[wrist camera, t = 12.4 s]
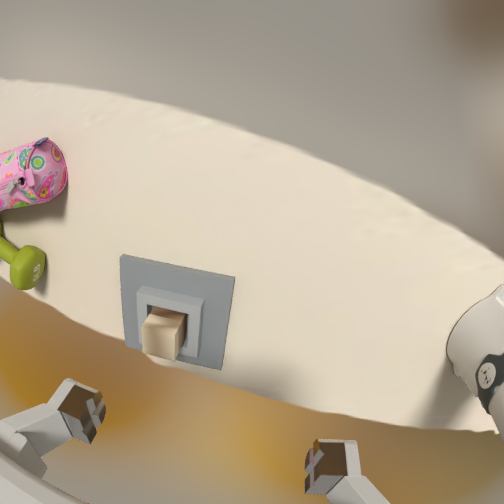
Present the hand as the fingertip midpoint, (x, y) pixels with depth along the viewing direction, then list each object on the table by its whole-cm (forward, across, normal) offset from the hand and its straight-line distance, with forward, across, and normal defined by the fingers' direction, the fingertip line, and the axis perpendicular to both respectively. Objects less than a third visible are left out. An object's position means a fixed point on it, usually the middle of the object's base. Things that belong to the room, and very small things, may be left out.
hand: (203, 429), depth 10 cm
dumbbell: (+30, +41, +12) cm, 52 cm away
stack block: (+28, +10, +17) cm, 34 cm away
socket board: (+29, +10, +17) cm, 35 cm away
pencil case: (+30, +38, -1) cm, 48 cm away
